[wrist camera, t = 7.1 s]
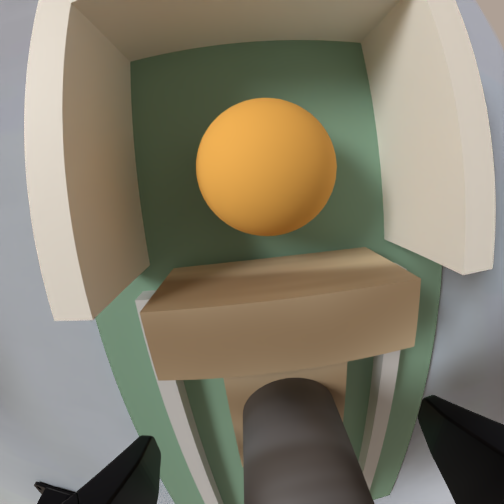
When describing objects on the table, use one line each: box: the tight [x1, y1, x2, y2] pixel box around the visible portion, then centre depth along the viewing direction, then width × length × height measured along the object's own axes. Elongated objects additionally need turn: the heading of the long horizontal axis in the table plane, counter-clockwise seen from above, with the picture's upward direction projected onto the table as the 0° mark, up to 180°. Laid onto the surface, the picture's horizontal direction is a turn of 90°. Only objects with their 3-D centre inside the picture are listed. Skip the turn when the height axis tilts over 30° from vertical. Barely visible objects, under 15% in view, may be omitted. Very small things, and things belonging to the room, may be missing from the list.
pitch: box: [24, 0, 495, 504], centre depth 10 cm, size 29×15×5 cm, turn 6°
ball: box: [196, 98, 337, 236], centre depth 9 cm, size 4×4×4 cm
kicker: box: [140, 247, 421, 504], centre depth 8 cm, size 8×7×8 cm
